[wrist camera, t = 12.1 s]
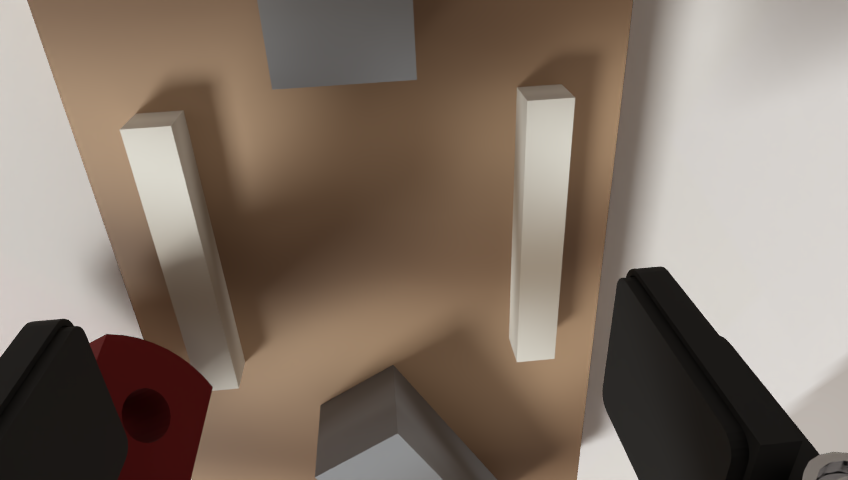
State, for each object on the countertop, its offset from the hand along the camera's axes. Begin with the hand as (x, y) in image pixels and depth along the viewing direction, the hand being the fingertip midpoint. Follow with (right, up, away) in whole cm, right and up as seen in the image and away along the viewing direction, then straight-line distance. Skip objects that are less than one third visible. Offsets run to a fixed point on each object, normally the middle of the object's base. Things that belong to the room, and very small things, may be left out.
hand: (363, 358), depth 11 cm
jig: (-1, +3, +6) cm, 7 cm away
